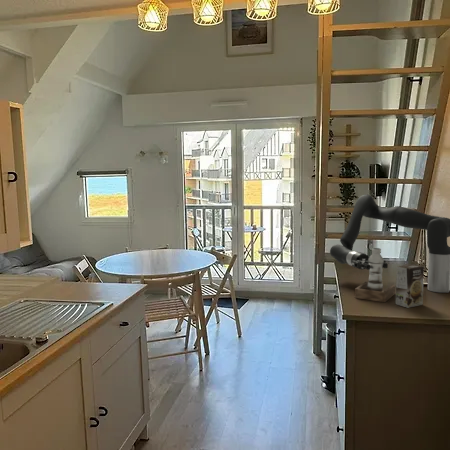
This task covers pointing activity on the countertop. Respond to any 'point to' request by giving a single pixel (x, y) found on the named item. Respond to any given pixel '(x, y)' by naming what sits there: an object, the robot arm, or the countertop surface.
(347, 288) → the countertop surface
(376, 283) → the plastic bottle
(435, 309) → the countertop surface
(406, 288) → the coffee box
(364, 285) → the walnut bay
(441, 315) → the countertop surface
